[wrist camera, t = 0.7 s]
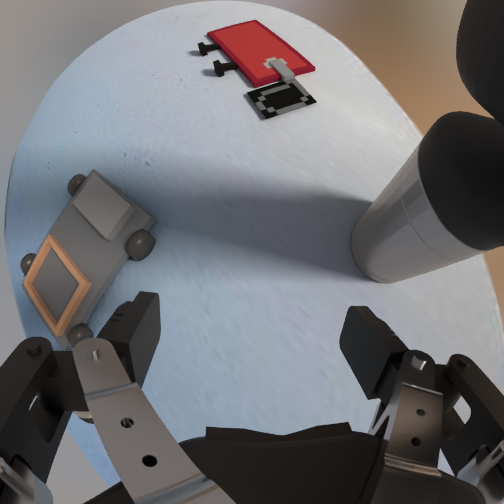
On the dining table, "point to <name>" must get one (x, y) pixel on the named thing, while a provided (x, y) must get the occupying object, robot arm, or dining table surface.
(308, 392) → the dining table surface
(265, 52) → the red board with handle
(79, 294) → the chassis
